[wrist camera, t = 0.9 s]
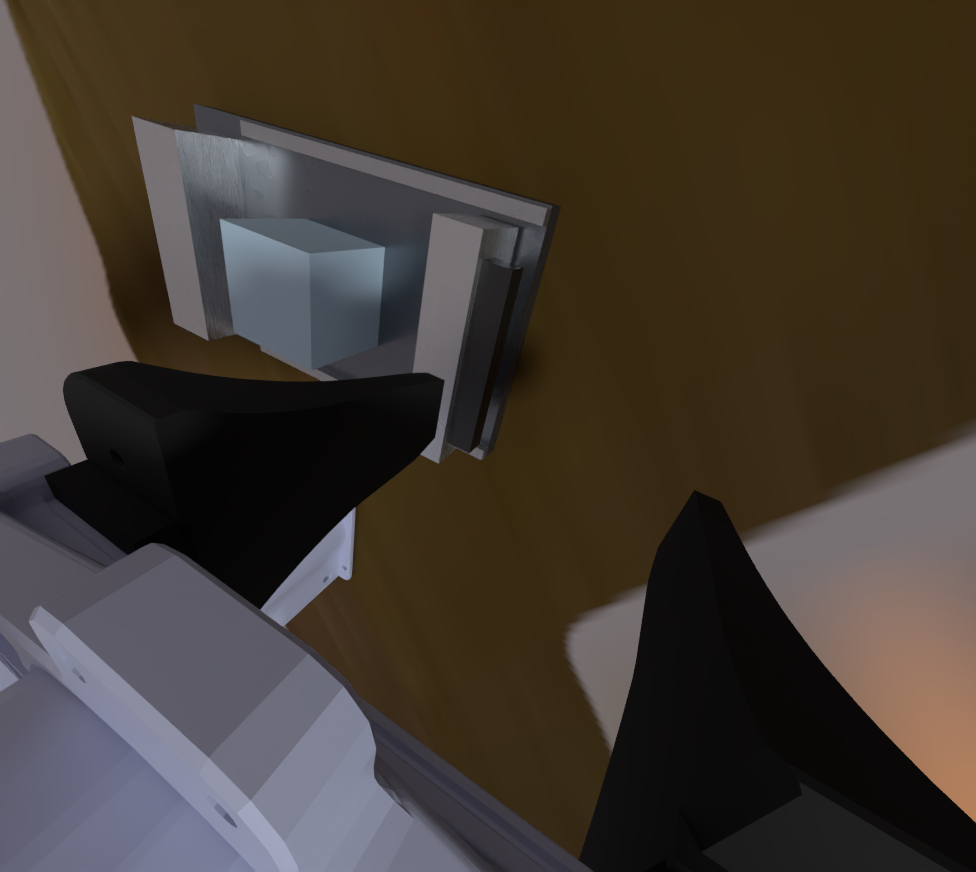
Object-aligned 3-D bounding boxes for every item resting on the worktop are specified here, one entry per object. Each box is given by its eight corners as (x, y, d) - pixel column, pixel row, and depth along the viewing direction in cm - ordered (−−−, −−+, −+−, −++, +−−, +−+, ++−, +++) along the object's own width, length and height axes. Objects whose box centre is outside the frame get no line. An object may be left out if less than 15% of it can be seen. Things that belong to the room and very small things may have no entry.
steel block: (377, 346, 22) (311, 370, 19) (307, 314, 24) (233, 332, 20) (384, 247, 20) (309, 253, 16) (305, 218, 21) (219, 218, 17)
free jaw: (490, 446, 21) (460, 475, 19) (437, 421, 22) (403, 445, 20) (546, 236, 16) (515, 239, 14) (474, 213, 17) (433, 213, 14)
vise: (493, 449, 23) (456, 486, 20) (238, 325, 29) (177, 338, 25) (560, 206, 16) (521, 203, 13) (212, 107, 22) (126, 89, 19)
